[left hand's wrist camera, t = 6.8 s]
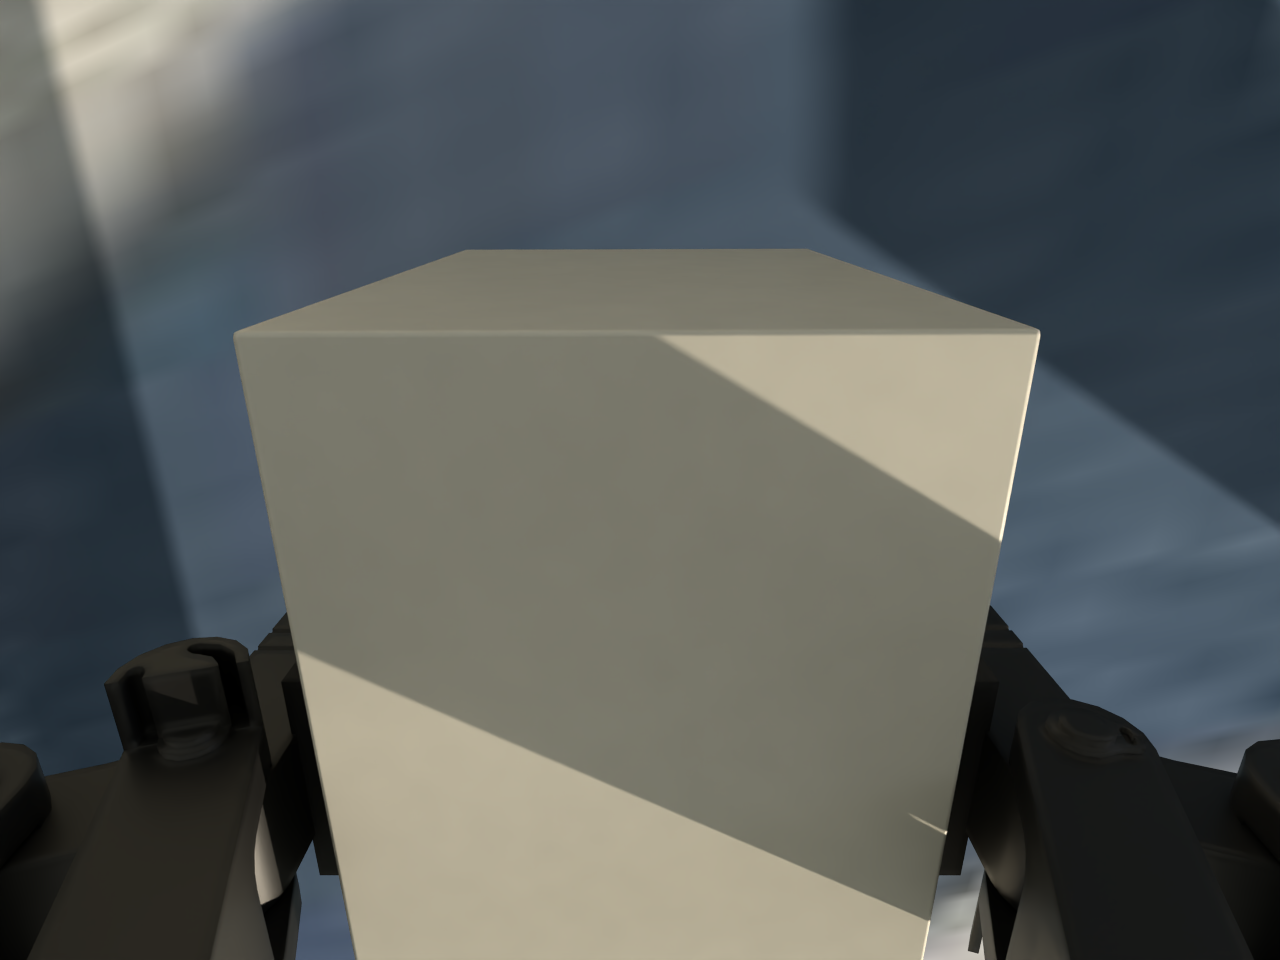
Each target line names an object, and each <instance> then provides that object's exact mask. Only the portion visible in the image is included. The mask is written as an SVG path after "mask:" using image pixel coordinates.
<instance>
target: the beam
mask: <svg viewBox="0 0 1280 960" xmlns="http://www.w3.org/2000/svg"><path fill="white" fill-rule="evenodd" d="M233 340H234V345H235V350H236V355H237V360H238V365H239V370H240V375H241V380H242V386H243V391H244V396H245V401H246V406H247V411H248V416H249V421H250V426H251V431H252V436H253V441H254V447H255V452H256V457H257V462H258V467H259V472H260V477H261V482H262V487H263V492H264V497H265V502H266V508H267V513H268V518H269V523H270V528H271V533H272V538H273V543H274V548H275V553H276V558H277V564H278V569H279V574H280V579H281V584H282V589H283V594H284V599H285V604H286V609H287V614H288V619H289V625H290V630H291V635H292V640H293V645H294V650H295V655H296V660H297V665H298V670H299V675H300V680H301V686H302V691H303V696H304V701H305V706H306V711H307V716H308V721H309V726H310V731H311V736H312V741H313V747H314V752H315V757H316V762H317V767H318V772H319V777H320V782H321V787H322V792H323V797H324V802H325V808H326V813H327V818H328V823H329V828H330V833H331V838H332V843H333V848H334V853H335V858H336V863H337V869H338V874H339V879H340V884H341V889H342V894H343V899H344V904H345V909H346V914H347V919H348V924H349V930H350V935H351V940H352V945H353V950H354V955H355V960H923V956H924V951H925V946H926V940H927V935H928V930H929V924H930V919H931V914H932V909H933V903H934V898H935V893H936V887H937V882H938V877H939V871H940V866H941V861H942V855H943V850H944V845H945V839H946V834H947V829H948V824H949V818H950V813H951V808H952V802H953V797H954V792H955V786H956V781H957V776H958V770H959V765H960V760H961V754H962V749H963V744H964V739H965V733H966V728H967V723H968V717H969V712H970V707H971V701H972V696H973V691H974V685H975V680H976V675H977V669H978V664H979V659H980V654H981V648H982V643H983V638H984V632H985V627H986V622H987V616H988V611H989V606H990V600H991V595H992V590H993V585H994V579H995V574H996V569H997V563H998V558H999V553H1000V547H1001V542H1002V537H1003V531H1004V526H1005V521H1006V515H1007V510H1008V505H1009V500H1010V494H1011V489H1012V484H1013V478H1014V473H1015V468H1016V462H1017V457H1018V452H1019V446H1020V441H1021V436H1022V430H1023V425H1024V420H1025V415H1026V409H1027V404H1028V399H1029V393H1030V388H1031V383H1032V377H1033V372H1034V367H1035V361H1036V356H1037V351H1038V345H1039V340H1040V331H1039V330H1038V329H1036V328H1034V327H1031V326H1028V325H1025V324H1022V323H1019V322H1017V321H1014V320H1011V319H1008V318H1005V317H1002V316H999V315H996V314H993V313H991V312H988V311H985V310H982V309H979V308H976V307H973V306H970V305H967V304H965V303H962V302H959V301H956V300H953V299H950V298H947V297H944V296H941V295H939V294H936V293H933V292H930V291H927V290H924V289H921V288H918V287H916V286H913V285H910V284H907V283H904V282H901V281H898V280H895V279H892V278H890V277H887V276H884V275H881V274H878V273H875V272H872V271H869V270H866V269H864V268H861V267H858V266H855V265H852V264H849V263H846V262H843V261H840V260H838V259H835V258H832V257H829V256H826V255H823V254H820V253H817V252H814V251H812V250H809V249H602V250H464V251H462V252H459V253H456V254H453V255H450V256H448V257H445V258H442V259H439V260H436V261H433V262H431V263H428V264H425V265H422V266H419V267H417V268H414V269H411V270H408V271H405V272H402V273H400V274H397V275H394V276H391V277H388V278H386V279H383V280H380V281H377V282H374V283H371V284H369V285H366V286H363V287H360V288H357V289H355V290H352V291H349V292H346V293H343V294H340V295H338V296H335V297H332V298H329V299H326V300H324V301H321V302H318V303H315V304H312V305H309V306H307V307H304V308H301V309H298V310H295V311H293V312H290V313H287V314H284V315H281V316H278V317H276V318H273V319H270V320H267V321H264V322H262V323H259V324H256V325H253V326H250V327H247V328H245V329H242V330H239V331H237V332H235V333H234V336H233Z"/></svg>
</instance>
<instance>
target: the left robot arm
mask: <svg viewBox="0 0 1280 960" xmlns="http://www.w3.org/2000/svg"><path fill="white" fill-rule="evenodd" d="M104 686H105V689H106V692H107V696H108V699H109V702H110V706H111V709H112V712H113V716H114V719H115V722H116V725H117V729H118V732H119V735H120V739H121V742H122V745H123V749H124V752H123V754H122V756H121V758H120V760H118V761H115V762H111V763H107V764H102V765H98V766H93V767H88V768H83V769H78V770H74V771H69V772H64V773H59V774H54V775H50V776H45V777H44V774H43V771H42V769H41V766H40V763H39V760H38V757H37V754H36V753H35V752H34V751H32V750H31V749H29V748H28V747H27V746H25V745H23V744H12V743H0V960H295V957H296V948H297V940H298V931H299V922H300V913H301V905H302V902H301V895H300V889H299V884H298V879H297V874H296V871H297V869H298V867H299V865H300V863H301V861H302V859H303V857H304V856H305V854H306V852H307V850H308V848H309V846H310V844H311V842H312V840H313V843H314V848H315V853H316V858H317V863H318V868H319V873H320V875H339V874H338V869H337V863H336V858H335V853H334V848H333V843H332V838H331V833H330V828H329V823H328V818H327V813H326V808H325V802H324V797H323V792H322V787H321V782H320V777H319V772H318V767H317V762H316V757H315V752H314V747H313V741H312V736H311V731H310V726H309V721H308V716H307V711H306V706H305V701H304V696H303V691H302V686H301V680H300V675H299V670H298V665H297V660H296V655H295V650H294V645H293V640H292V635H291V630H290V625H289V619H288V614H287V612H286V614H285V615H284V616H283V617H282V618H281V620H280V621H279V622H278V623H277V624H276V625H275V627H274V628H273V632H272V633H269V634H268V635H267V636H266V637H265V639H264V640H263V641H262V642H261V643H260V644H259V646H258V650H254V652H253V653H252V654H251V655H250V656H249V653H248V649H247V648H246V647H245V646H243V645H242V644H241V643H239V642H238V641H236V640H231V639H226V638H221V637H207V638H192V639H188V640H183V641H179V642H175V643H171V644H166V645H164V646H161V647H159V648H156V649H154V650H151V651H149V652H146V653H144V654H141V655H139V656H137V657H136V658H134V659H133V660H131V661H130V662H128V663H126V664H125V665H123V666H122V667H120V668H118V669H117V670H116V671H115V672H114V674H113V675H112V676H111V677H110V678H109V679H108V680H107V681H106V682H105V684H104ZM968 837H969V839H970V841H971V843H972V845H973V847H974V849H975V851H976V853H977V855H978V857H979V859H980V861H981V863H982V864H983V866H984V868H985V870H984V874H983V879H982V884H981V888H980V893H979V897H978V902H977V907H976V911H975V916H974V920H973V925H972V930H971V934H970V941H969V947H968V951H971V952H974V953H979V949H980V944H981V940H982V938H983V946H984V955H985V960H1280V739H1277V740H1267V741H1258V742H1256V743H1255V744H1253V745H1252V746H1250V747H1249V748H1248V749H1246V751H1245V753H1244V756H1243V759H1242V762H1241V765H1240V768H1239V770H1238V773H1233V772H1228V771H1223V770H1218V769H1213V768H1208V767H1204V766H1199V765H1194V764H1189V763H1184V762H1179V761H1175V760H1171V759H1167V758H1163V757H1159V755H1158V753H1157V750H1156V749H1155V747H1154V746H1153V745H1152V744H1151V742H1150V741H1149V740H1148V738H1147V737H1146V736H1145V734H1144V733H1143V732H1141V731H1140V730H1139V729H1137V728H1136V727H1134V726H1133V725H1132V724H1130V723H1129V722H1128V721H1126V720H1125V719H1124V718H1122V717H1120V716H1117V715H1115V714H1113V713H1111V712H1109V711H1107V710H1105V709H1102V708H1100V707H1098V706H1094V705H1091V704H1087V703H1083V702H1079V701H1076V700H1071V699H1070V698H1069V697H1068V696H1067V695H1066V694H1065V692H1064V691H1063V690H1062V689H1061V688H1060V687H1059V685H1058V684H1057V683H1056V682H1055V681H1054V680H1053V678H1052V677H1051V676H1050V675H1049V674H1048V672H1047V671H1046V670H1045V669H1044V668H1043V667H1042V665H1041V664H1040V663H1039V662H1038V661H1037V659H1036V658H1035V657H1034V656H1033V655H1032V654H1031V652H1030V651H1029V650H1028V649H1027V648H1023V643H1022V642H1021V641H1020V639H1019V638H1018V637H1017V636H1016V635H1015V634H1014V632H1013V631H1012V630H1009V629H1008V625H1007V624H1006V623H1005V622H1004V621H1003V619H1002V618H1001V617H1000V616H999V615H998V614H997V612H996V611H995V610H994V609H993V608H992V607H991V606H989V611H988V616H987V622H986V627H985V632H984V638H983V643H982V648H981V654H980V659H979V664H978V669H977V675H976V680H975V685H974V691H973V696H972V701H971V707H970V712H969V717H968V723H967V728H966V733H965V739H964V744H963V749H962V754H961V760H960V765H959V770H958V776H957V781H956V786H955V792H954V797H953V802H952V808H951V813H950V818H949V824H948V829H947V834H946V839H945V845H944V850H943V855H942V861H941V866H940V871H939V875H961V870H962V865H963V860H964V855H965V850H966V845H967V840H968Z"/></svg>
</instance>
